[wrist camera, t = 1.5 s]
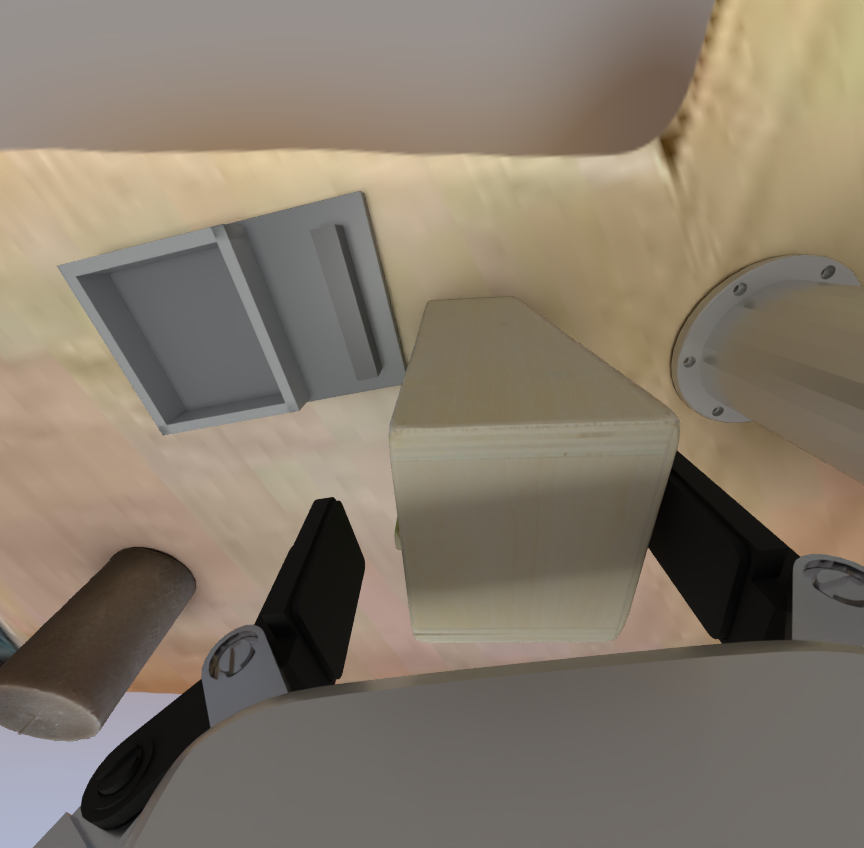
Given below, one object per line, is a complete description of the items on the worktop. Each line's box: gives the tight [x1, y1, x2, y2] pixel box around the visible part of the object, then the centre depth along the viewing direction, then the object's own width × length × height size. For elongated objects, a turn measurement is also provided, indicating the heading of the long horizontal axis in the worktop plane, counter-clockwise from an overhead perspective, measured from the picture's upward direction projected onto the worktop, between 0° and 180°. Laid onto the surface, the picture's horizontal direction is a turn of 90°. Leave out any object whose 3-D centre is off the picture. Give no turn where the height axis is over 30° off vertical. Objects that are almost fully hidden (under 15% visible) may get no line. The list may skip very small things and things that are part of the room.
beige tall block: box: [389, 297, 680, 643], centre depth 19 cm, size 8×7×21 cm
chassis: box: [57, 191, 407, 435], centre depth 26 cm, size 20×13×4 cm, turn 101°
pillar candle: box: [0, 548, 195, 741], centre depth 35 cm, size 10×10×15 cm
